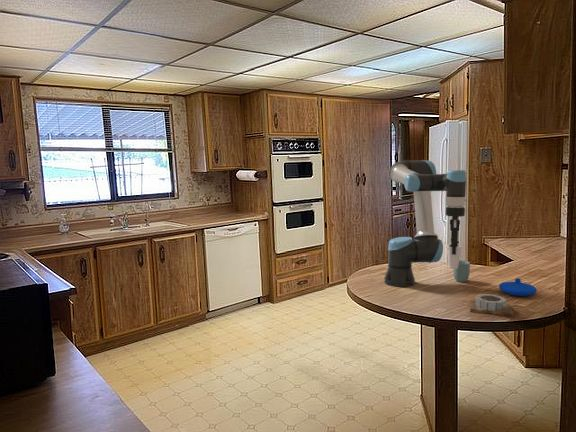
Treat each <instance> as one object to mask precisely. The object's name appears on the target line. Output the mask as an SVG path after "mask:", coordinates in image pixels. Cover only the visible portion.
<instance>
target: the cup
mask: <svg viewBox="0 0 576 432" xmlns="http://www.w3.org/2000/svg"><path fill="white" fill-rule="evenodd" d="M470 268H471V263H470V261H468V260H460V259H459V264H458V268H457V269H453V279H455V281H457V282H459V283H460V282H461V283H465V282H467V281H468V280H469V277H470V273H471V270H470Z"/></svg>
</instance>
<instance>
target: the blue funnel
mask: <svg viewBox="0 0 576 432" xmlns="http://www.w3.org/2000/svg"><path fill="white" fill-rule="evenodd" d="M498 287H499V289H500V291H502V292H504V293H505V294H508V295H510V296H511V295H512V296H515V297H516V296H518V297H528V296H531V295H534V294H536V292H537V288H536V287H535V285H532V284H530V283H526V282H522V280H521V278H515V280H514V281H504V282H501V283H500V284H499V285H498Z"/></svg>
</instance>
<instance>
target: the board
mask: <svg viewBox="0 0 576 432" xmlns="http://www.w3.org/2000/svg"><path fill="white" fill-rule="evenodd" d="M468 305H469V312H470V313H478V312H480V314H488V313H491V315H499V314H500V316H501V315H502V316H509V315H513V316H514V311H513V309H512V307H511V304H510V303H507V302H506V309H505V310H502V311H489V310H484V309H480V308H478V307H476V305H475V300H471V299H470V300H468ZM492 313H493V314H492Z"/></svg>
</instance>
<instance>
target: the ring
mask: <svg viewBox="0 0 576 432" xmlns="http://www.w3.org/2000/svg"><path fill="white" fill-rule="evenodd" d="M474 301H475V305H476V307H478V308H480V309H484V310H489V311H502V310H505V309H506V303H507V299H506V298H505V297H503V296H500V295H498V294H488V293H483V294H482V293H481V294H477V295H475V300H474Z"/></svg>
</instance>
